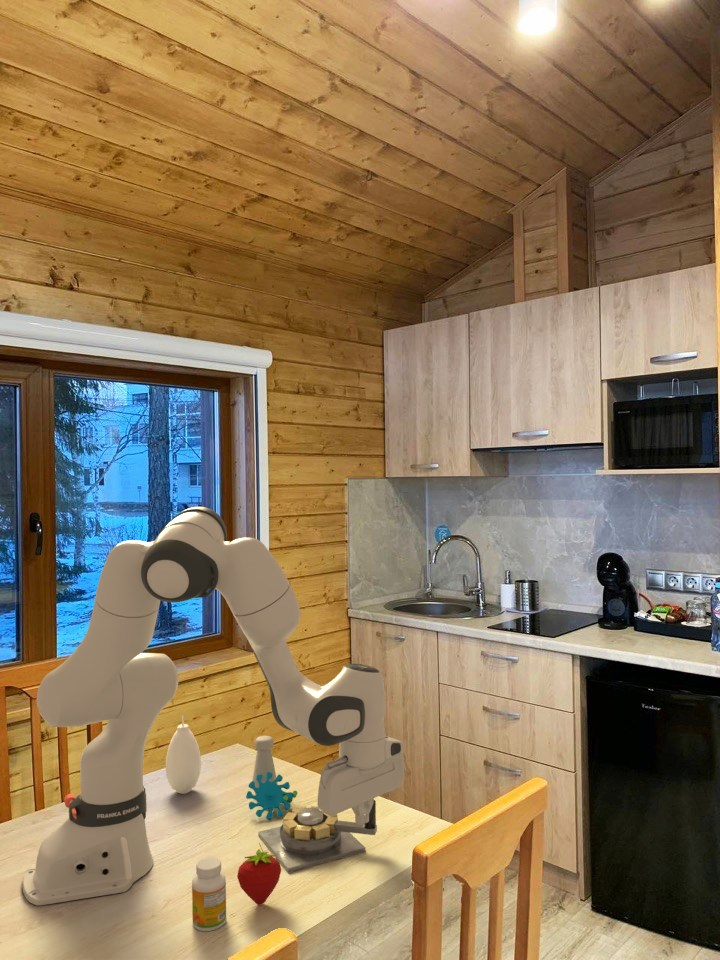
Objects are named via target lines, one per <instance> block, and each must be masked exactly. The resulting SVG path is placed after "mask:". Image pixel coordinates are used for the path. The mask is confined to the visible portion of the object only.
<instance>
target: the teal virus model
mask: <svg viewBox="0 0 720 960" xmlns="http://www.w3.org/2000/svg"><path fill="white" fill-rule="evenodd" d="M272 776H273V773H271V772H267V775H266V777H267V780H266V782H265V783H262V782H261V780H262V778H263V776H262V775H257V777H256V780H257V781H258V783H259V788H256V787H255V782H254V781H252V780H251V781H250V782H249V784H248V788H249V789H251V790H253V792H254V791H255V792H254V794H255V793H256V794H255V795H254V794H253V792H252V791H249V790H248V791H247V793H246V795H245V796H246V797H245V798H246V799H247V800H249V799H250V800H251V799H253V800H254V801H256V803H255V802H254V801H249V803H248V808H249V810H253V809H254V808H257V807H262V808H261V809H257V810H256V812H255V815H256V816H257V817H258V818H261V817H262V815H263V813H264V812H266V811H267V810H269V812H268V813H267V814H266V817H265V819H267V820H269V821H271V820H273V818H274V815H273V814H274V813H273V812H274V810H275V809H277V812H276V818H281V817H284V811H283V809H282V808H281V804H283V808H284V810H286V811H288V810H289V809H290V808H291V806H292V804H291V803H292V802H293V799H295V798H296V797H297V795H298V794H299V793H298V791H297V790H293V791H292V792H291V791H289V792H286V791H284V790H289V789H290V787H291V785H290V782H289V781H286V782H285V783H282V784H276V782H279V783H281V782H282V781H283V779H284V777H283V776H282V775H281V774H280V773H279V774H277V775H276V777H277V778H276V779H275V780H274V781H273V782H270V781H269V779H271V778H272ZM282 789H284V790H282Z"/></svg>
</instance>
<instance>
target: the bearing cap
mask: <svg viewBox="0 0 720 960" xmlns="http://www.w3.org/2000/svg"><path fill="white" fill-rule="evenodd" d="M322 823H324V822H323V812H321V811H320V809H318V808H310V807H307V808H304V809H302V810H300V811H299V812H298V823H297V824H298V825H304V826H315V825H319V824H322ZM257 835H258V837H259V838H260V840H261V841H262V842H263V844H265V846H266V847H267V848H268V850H269V851H270V852H271V854H272V855H276V856H274V858H275V859H276V860H278V861H279V863H280V865H281V866H282V867H283V868H284V870H285V871H286V872H287V873H292V872H296V871H299V870H304V869H307V868H311V867H314V866H319V865H321V864H325V863H329V862H333V861H336V860H340V859H343V858H347V857H351V856H354V855H359V854H361V853H365V852H366V849H367V848H366V846H365V845H364V844H362V843H361V841H359V840H358V839H357V838H356V837H355V836H354V835H353V833H350V832H341V831H335V833H334V834H331V833H330V836H329V837H325V838H322V839H318V840H315V839H314V838H313V837H312V838H311V839H310V841H307V840H299V839H295V836H292V837H289V836H288V835H287V834H286V833H285V832H284V831H283V823H282V825H281V826H278V827H277V826H276V827H272V828H268V829H265V830H260V831H258V832H257Z"/></svg>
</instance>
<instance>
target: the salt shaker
mask: <svg viewBox="0 0 720 960" xmlns="http://www.w3.org/2000/svg"><path fill="white" fill-rule="evenodd" d="M274 741H275V740H274V738H273V737H272V736H270V735H260V736H258V737H257V738H255V740H254V747H255V749H256V756H255V761H254V767H253V773H252V780H251V782H252V781H254V782H255V787H256V788H259V783H258V781H257V780H256V777H257V775H262V776H263V778H262V780H261V782H262V783H265V782H266V780H267V777H266V775H267V772H271V773H273V776H272V778H271V779H269V781H270V782H273V781H274V780H275V779H276V778H277V773H276V769H275V762H274V758H273V754H272V752H273V751H272V749H273V748H274V745H275V742H274ZM276 784H277V785H279V783H278V782H276ZM253 792H254V794H255V795H256V793H255V791H254V790H253Z"/></svg>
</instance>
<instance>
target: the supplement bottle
mask: <svg viewBox="0 0 720 960" xmlns="http://www.w3.org/2000/svg"><path fill="white" fill-rule="evenodd" d="M195 868H196V869H195V871H196V872H195V873H196V875H195V876H194V877H193V879H192V882H191V891H192V892H191V894H192V897H191V899H192V900H191V901H192V903H191V905H192V908H191V909H192V910H191V912H192V914H191V915H192V925H193V927H194V928H195V929H196V930H198V931H201V932H211V931H214V930H215V931H216V930H218V929H219V928H221V927H223V926H224V924H225V923H226V920H227V891H226V890H227V889H226V888H227V886H226V885H227V883H226V876H225V873H223V871H222V860H221V859H219V858H218V857H214V856H213V857H212V856H210V857H209V856H208V857H203V858H201V859H199V860H198V861H197V862H196V866H195Z"/></svg>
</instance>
